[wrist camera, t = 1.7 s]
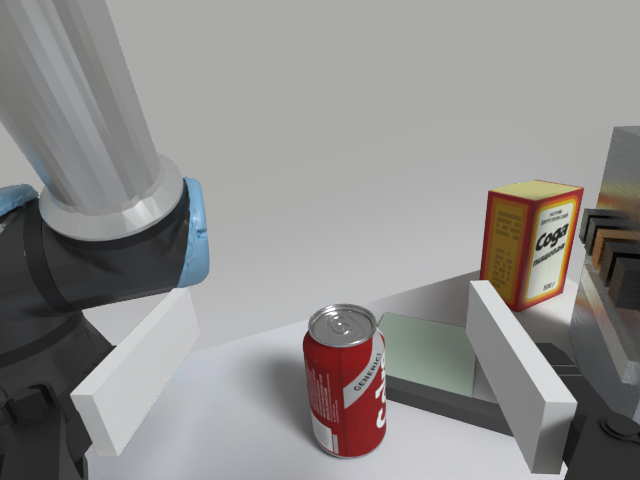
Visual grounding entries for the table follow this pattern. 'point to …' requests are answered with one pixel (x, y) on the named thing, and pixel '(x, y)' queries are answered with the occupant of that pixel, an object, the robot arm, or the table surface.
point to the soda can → (346, 380)
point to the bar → (447, 404)
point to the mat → (428, 353)
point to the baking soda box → (529, 240)
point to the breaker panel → (612, 281)
